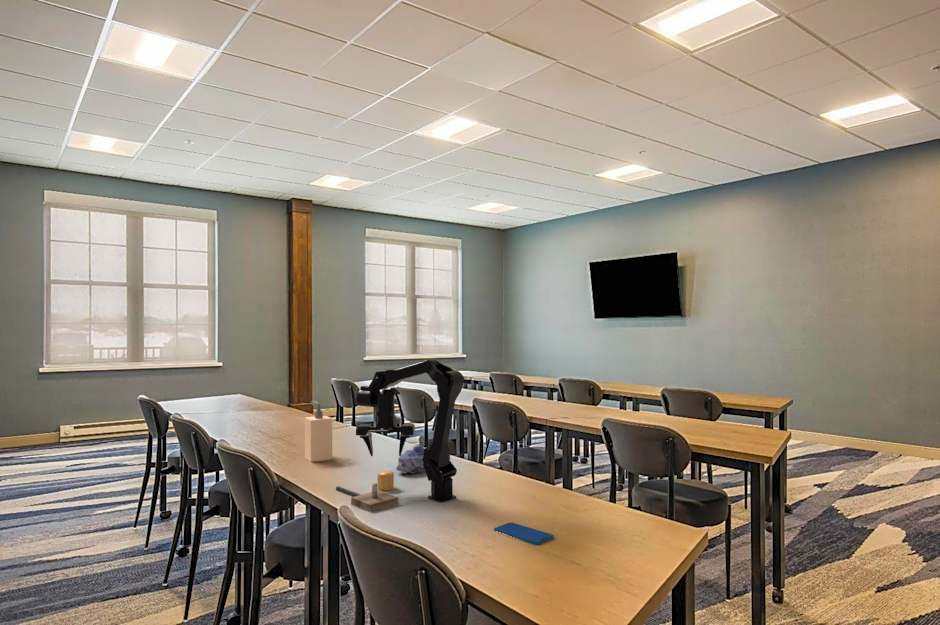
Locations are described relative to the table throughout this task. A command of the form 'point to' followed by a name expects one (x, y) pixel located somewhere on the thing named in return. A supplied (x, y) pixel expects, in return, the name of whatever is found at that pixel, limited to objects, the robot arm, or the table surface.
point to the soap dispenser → (318, 436)
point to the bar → (347, 491)
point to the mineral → (411, 460)
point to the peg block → (374, 500)
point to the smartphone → (524, 533)
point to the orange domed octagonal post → (385, 480)
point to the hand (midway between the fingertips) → (386, 456)
